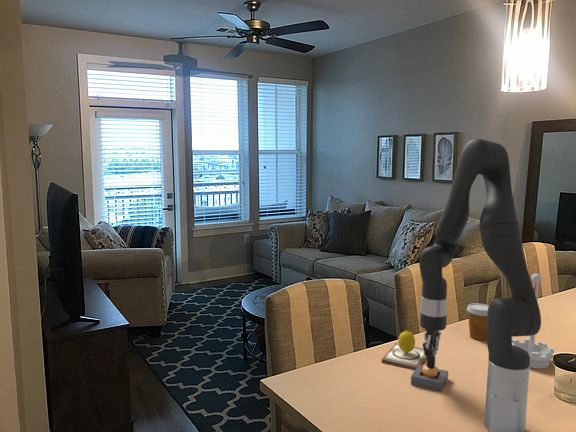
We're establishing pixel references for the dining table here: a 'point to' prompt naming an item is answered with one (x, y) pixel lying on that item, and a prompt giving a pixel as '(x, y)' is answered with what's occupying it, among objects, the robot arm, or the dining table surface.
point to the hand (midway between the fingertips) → (430, 367)
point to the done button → (430, 371)
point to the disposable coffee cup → (478, 320)
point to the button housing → (429, 379)
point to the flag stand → (537, 352)
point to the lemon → (406, 341)
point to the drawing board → (404, 357)
